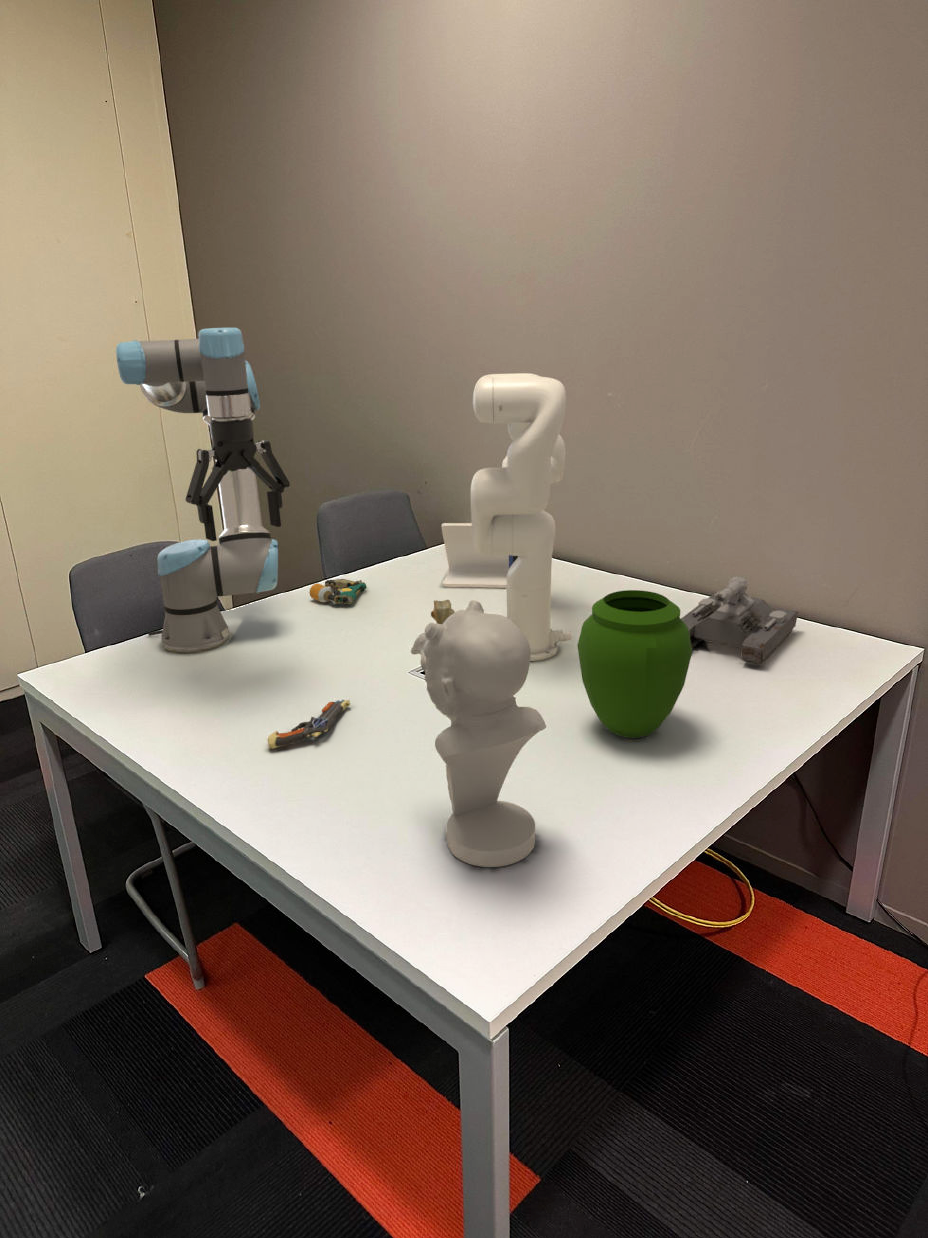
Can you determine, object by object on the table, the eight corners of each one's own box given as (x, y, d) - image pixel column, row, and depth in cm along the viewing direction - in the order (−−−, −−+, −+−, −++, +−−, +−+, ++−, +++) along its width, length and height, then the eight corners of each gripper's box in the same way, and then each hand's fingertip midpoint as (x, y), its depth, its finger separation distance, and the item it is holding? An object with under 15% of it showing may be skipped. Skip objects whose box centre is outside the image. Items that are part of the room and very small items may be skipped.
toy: (710, 615, 205) (715, 555, 200) (796, 631, 194) (803, 568, 189) (667, 650, 186) (671, 585, 181) (759, 670, 175) (767, 601, 170)
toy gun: (262, 738, 148) (316, 736, 146) (302, 698, 166) (350, 695, 164) (265, 752, 149) (319, 750, 147) (304, 710, 167) (353, 708, 165)
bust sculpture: (481, 772, 140) (476, 569, 128) (565, 848, 120) (569, 617, 108) (392, 800, 134) (378, 588, 121) (465, 886, 114) (457, 642, 101)
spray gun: (334, 586, 236) (381, 594, 231) (299, 601, 222) (348, 610, 216) (334, 571, 235) (381, 579, 229) (298, 586, 221) (348, 594, 215)
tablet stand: (534, 588, 228) (534, 526, 222) (442, 586, 231) (439, 525, 225) (538, 568, 245) (538, 509, 239) (451, 566, 248) (449, 509, 242)
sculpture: (458, 662, 183) (456, 596, 178) (460, 676, 176) (457, 608, 171) (431, 663, 183) (428, 597, 177) (431, 677, 176) (428, 609, 171)
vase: (701, 718, 156) (710, 592, 147) (663, 766, 141) (671, 629, 132) (602, 695, 166) (606, 576, 157) (557, 738, 151) (558, 608, 142)
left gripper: (279, 409, 164) (290, 517, 172) (155, 424, 149) (173, 542, 156) (300, 412, 159) (311, 523, 167) (174, 428, 143) (192, 549, 151)
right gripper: (538, 490, 215) (538, 559, 221) (491, 501, 204) (492, 574, 210) (561, 494, 210) (560, 564, 216) (514, 506, 199) (514, 580, 205)
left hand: (244, 532), depth 161 cm, fingers open, 13 cm apart
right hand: (526, 568), depth 213 cm, fingers closed on block, 5 cm apart
